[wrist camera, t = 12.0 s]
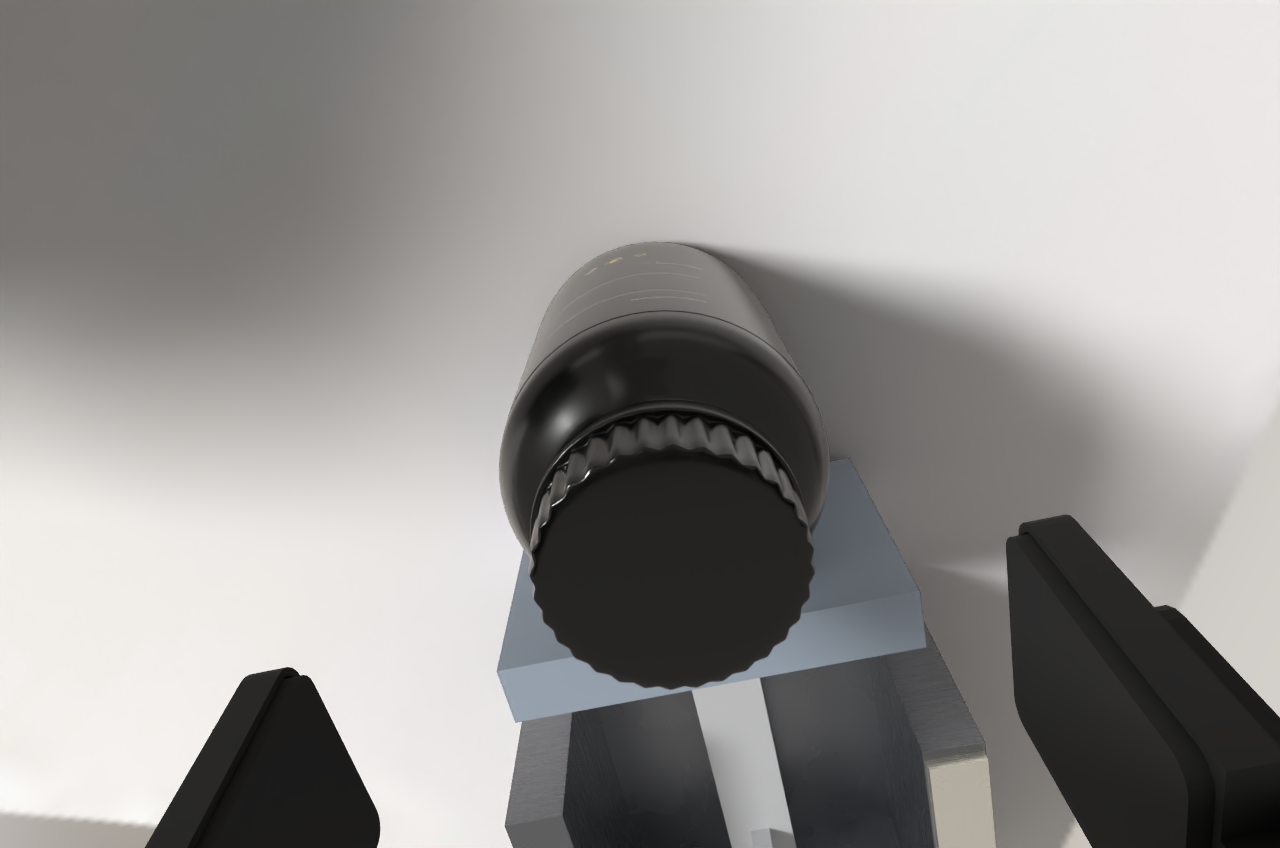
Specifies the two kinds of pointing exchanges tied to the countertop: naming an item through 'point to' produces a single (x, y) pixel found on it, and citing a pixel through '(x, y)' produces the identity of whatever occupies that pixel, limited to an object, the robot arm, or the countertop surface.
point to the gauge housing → (807, 755)
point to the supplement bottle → (664, 470)
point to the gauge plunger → (735, 708)
